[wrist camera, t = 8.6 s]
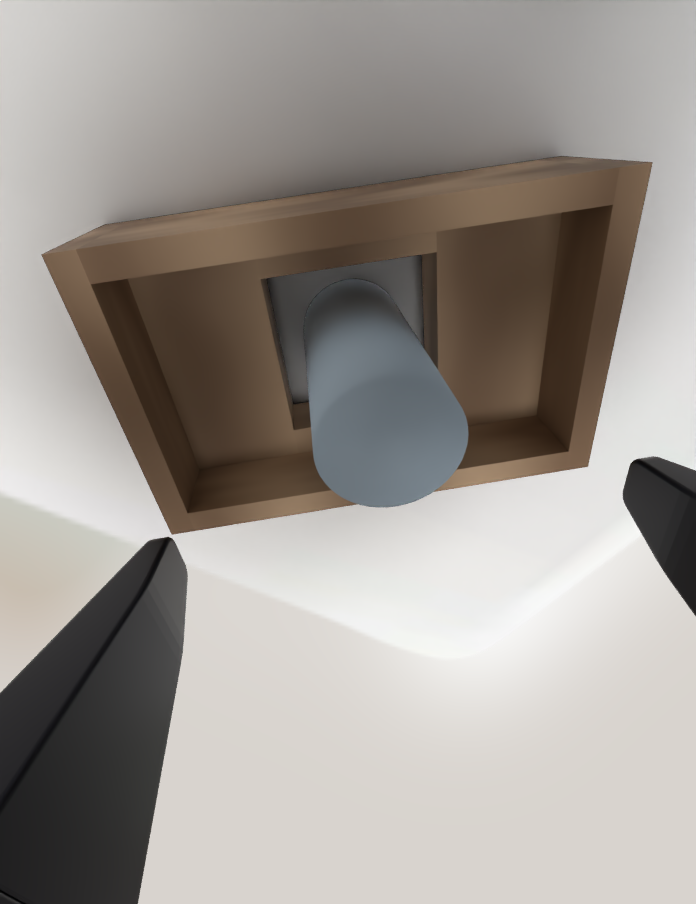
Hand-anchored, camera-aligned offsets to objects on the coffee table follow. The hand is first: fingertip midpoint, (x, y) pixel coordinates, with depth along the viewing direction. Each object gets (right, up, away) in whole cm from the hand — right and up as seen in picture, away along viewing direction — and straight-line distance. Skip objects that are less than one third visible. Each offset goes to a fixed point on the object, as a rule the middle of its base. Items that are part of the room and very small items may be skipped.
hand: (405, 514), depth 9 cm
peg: (-1, +6, +8) cm, 10 cm away
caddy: (-1, +6, +8) cm, 10 cm away
